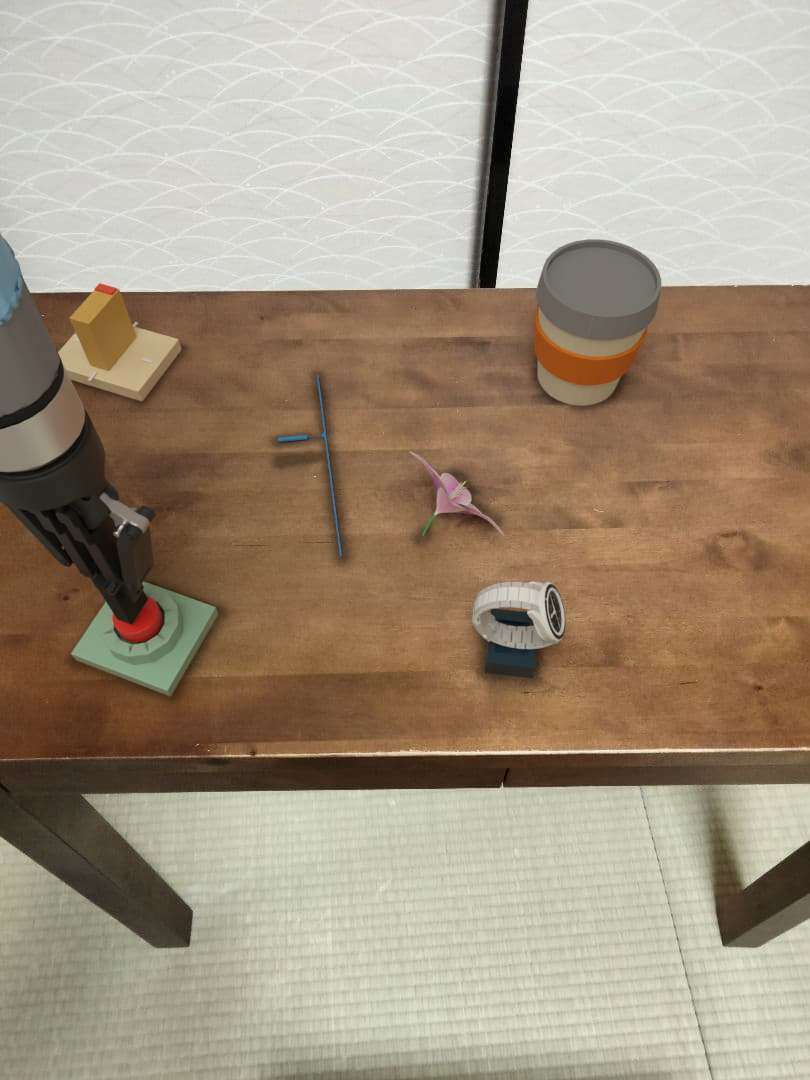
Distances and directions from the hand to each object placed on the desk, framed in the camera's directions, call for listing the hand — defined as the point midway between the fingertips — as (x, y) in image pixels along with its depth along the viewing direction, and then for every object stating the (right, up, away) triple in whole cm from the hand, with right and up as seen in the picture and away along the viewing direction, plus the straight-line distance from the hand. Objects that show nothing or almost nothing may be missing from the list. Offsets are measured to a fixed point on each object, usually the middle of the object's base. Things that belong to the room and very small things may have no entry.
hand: (132, 609), depth 72 cm
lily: (+29, +8, +13) cm, 32 cm away
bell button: (0, -1, +2) cm, 3 cm away
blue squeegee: (+13, +14, +17) cm, 25 cm away
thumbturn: (-10, +28, +23) cm, 37 cm away
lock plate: (-10, +27, +25) cm, 38 cm away
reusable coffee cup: (+44, +24, +24) cm, 56 cm away
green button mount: (0, -3, +5) cm, 6 cm away
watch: (+34, -5, +5) cm, 34 cm away
